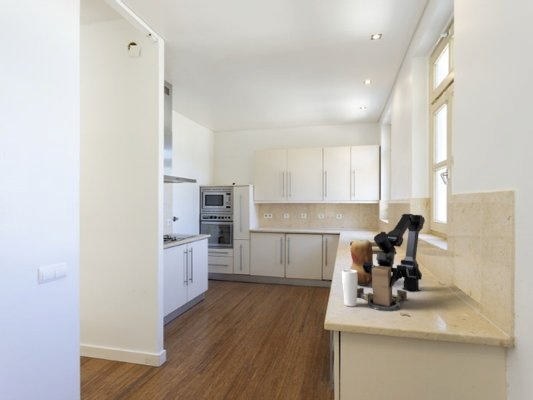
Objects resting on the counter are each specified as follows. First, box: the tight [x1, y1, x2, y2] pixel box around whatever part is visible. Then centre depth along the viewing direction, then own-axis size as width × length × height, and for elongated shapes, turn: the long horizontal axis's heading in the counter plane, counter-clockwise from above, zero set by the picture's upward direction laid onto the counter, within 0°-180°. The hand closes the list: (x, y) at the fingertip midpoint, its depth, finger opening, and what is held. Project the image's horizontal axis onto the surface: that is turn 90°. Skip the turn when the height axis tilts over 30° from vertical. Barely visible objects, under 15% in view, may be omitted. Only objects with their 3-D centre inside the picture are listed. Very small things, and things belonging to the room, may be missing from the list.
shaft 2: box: [392, 289, 408, 304], centre depth 137 cm, size 8×4×4 cm, turn 124°
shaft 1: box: [357, 287, 373, 303], centre depth 141 cm, size 8×4×4 cm, turn 24°
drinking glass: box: [341, 269, 359, 307], centre depth 133 cm, size 7×7×15 cm
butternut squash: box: [350, 239, 374, 286], centre depth 166 cm, size 14×13×25 cm
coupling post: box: [371, 265, 393, 306], centre depth 131 cm, size 6×6×15 cm
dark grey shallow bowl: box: [366, 298, 400, 312], centre depth 131 cm, size 13×13×2 cm
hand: (381, 285), depth 130 cm, fingers closed on coupling post, 6 cm apart
